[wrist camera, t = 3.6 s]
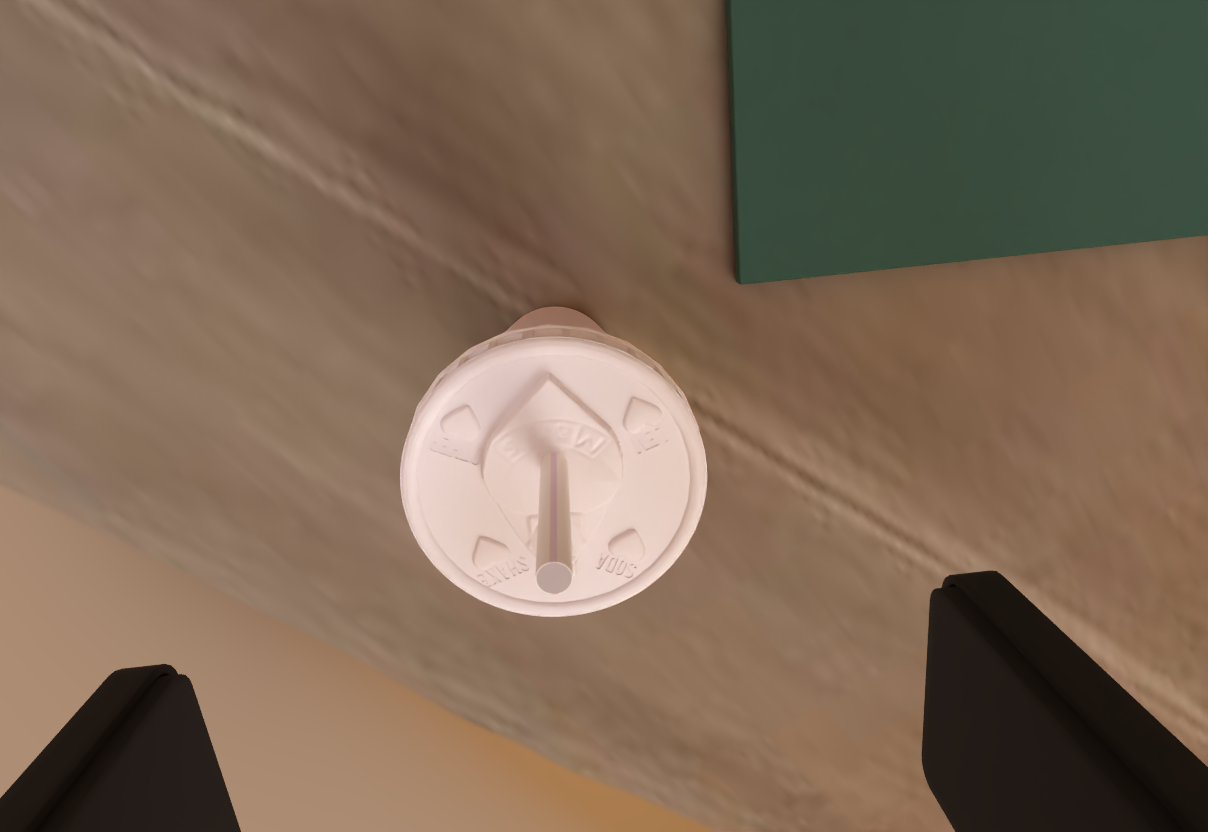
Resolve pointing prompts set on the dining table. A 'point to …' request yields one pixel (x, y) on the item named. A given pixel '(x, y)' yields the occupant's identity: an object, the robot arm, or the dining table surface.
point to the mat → (961, 130)
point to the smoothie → (553, 468)
